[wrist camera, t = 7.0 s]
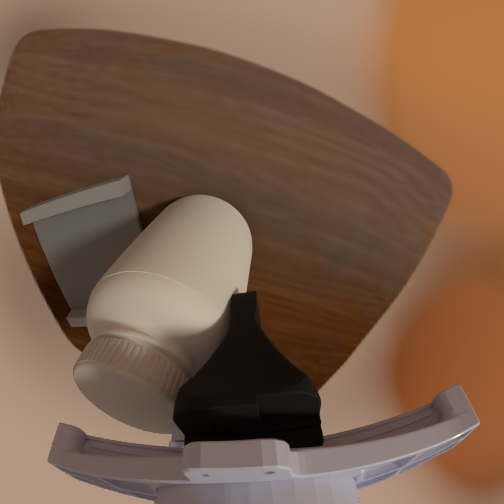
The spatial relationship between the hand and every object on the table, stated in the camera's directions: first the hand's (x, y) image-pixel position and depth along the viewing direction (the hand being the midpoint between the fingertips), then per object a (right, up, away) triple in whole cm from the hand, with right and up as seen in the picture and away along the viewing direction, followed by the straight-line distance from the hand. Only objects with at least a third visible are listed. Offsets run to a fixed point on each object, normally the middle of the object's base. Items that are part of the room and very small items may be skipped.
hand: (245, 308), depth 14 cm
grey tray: (-14, +2, +9) cm, 17 cm away
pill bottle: (-4, +4, +9) cm, 10 cm away
